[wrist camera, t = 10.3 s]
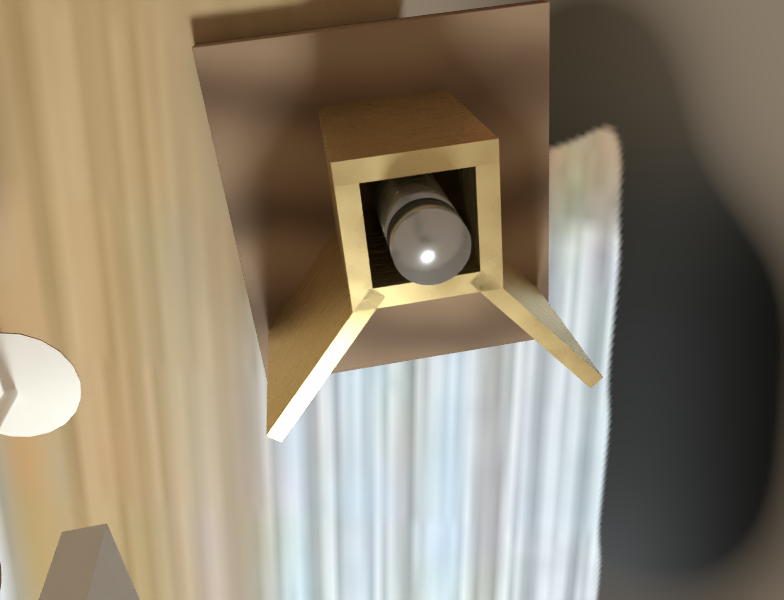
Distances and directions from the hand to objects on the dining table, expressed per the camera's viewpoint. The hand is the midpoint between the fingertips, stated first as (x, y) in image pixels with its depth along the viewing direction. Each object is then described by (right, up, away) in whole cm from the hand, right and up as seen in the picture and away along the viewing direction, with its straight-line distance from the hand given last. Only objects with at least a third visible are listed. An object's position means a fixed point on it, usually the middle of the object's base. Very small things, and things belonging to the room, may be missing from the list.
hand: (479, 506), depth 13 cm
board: (-2, +9, +28) cm, 29 cm away
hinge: (-2, +9, +27) cm, 28 cm away
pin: (-2, +11, +25) cm, 28 cm away
